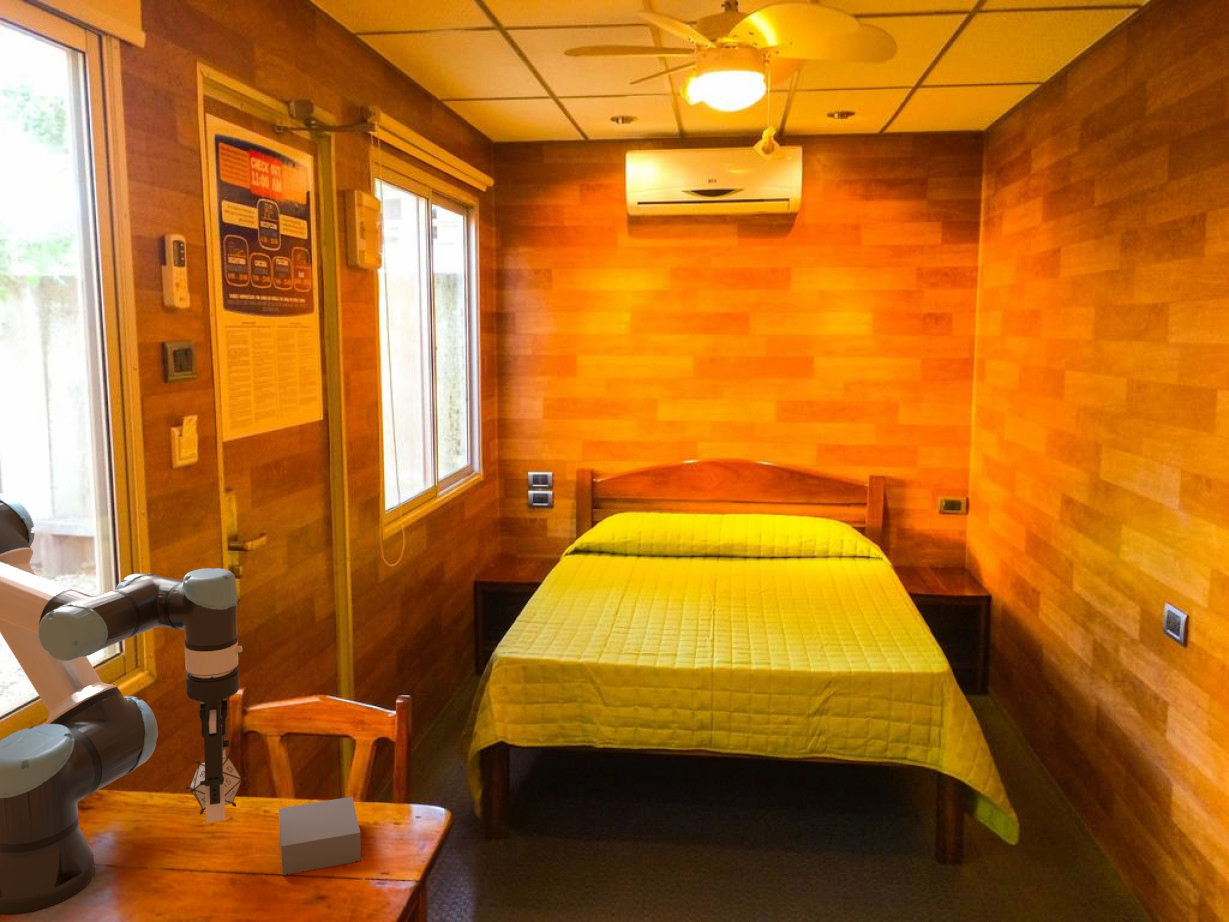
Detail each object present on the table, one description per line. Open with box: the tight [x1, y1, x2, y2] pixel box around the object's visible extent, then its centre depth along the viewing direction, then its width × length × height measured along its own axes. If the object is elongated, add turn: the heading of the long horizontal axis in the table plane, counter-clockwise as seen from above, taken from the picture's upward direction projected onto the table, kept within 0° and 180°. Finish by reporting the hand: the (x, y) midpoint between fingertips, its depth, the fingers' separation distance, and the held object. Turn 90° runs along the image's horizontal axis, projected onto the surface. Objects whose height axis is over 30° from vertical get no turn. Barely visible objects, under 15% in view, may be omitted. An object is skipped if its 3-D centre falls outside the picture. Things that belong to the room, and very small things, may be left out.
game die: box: [184, 752, 248, 816], centre depth 147 cm, size 9×8×10 cm
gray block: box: [278, 796, 362, 876], centre depth 154 cm, size 12×12×5 cm
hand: (216, 803), depth 148 cm, fingers closed on game die, 9 cm apart
